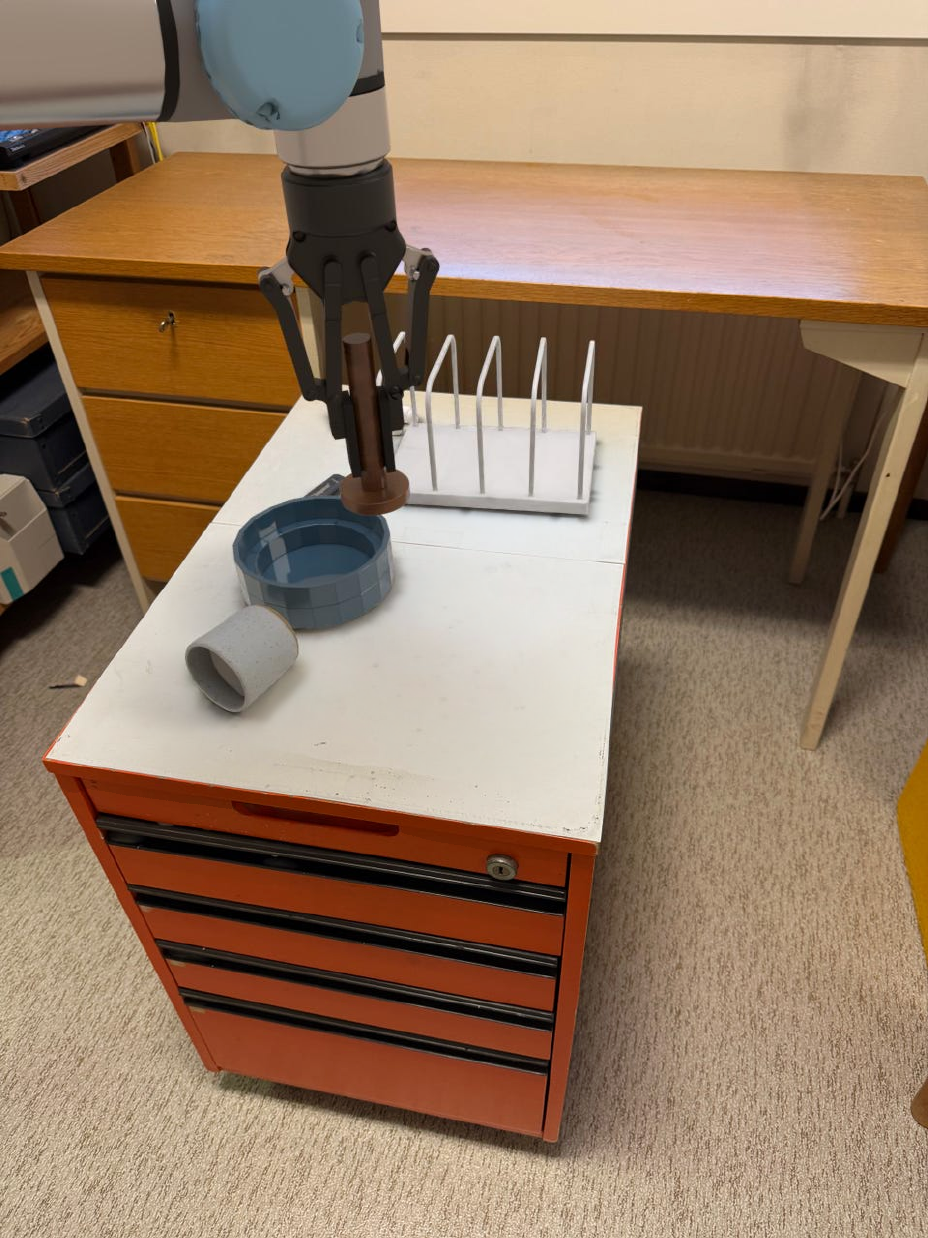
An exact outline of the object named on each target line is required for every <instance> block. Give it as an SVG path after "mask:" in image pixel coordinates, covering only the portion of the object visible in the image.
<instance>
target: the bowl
mask: <svg viewBox="0 0 928 1238" xmlns="http://www.w3.org/2000/svg"><path fill="white" fill-rule="evenodd" d="M391 537H392V536H391V531H390V528H389V524H388V522H387V519H386V517H385V516H383V514H382V515H373V516H370V515H361V514H356V513H354V512H351V511H349V510H348V509H346V508H345V507H344V505H343V504H342V502H341V496H340V495H335V496H309V497H304V496H303V497H298V498H292V499H288V500H285V501H283V502H280V503H277V504H273V505H271V506H269V507H267V508H265V509H263V510H262V511H261V512H259V513H257V514H255V515H254V516H252V517H250V519H248V521H247V522H245V523H244V525H243V526H241V528H240V529H239V530H237V534H236V536H235V538H234V540H233V543H232V545H231V547H232V556H233V557H232V558H233V563H234V566H235V571H236V574H237V578H238V582H239V586H240V589H241V593H242V597H243V601H244V602H245V603H246V604H247V607H248V606H251V605H256V604H258V605H264V606H267V607H269V608H271V609H273V610H275V611H276V612H278V613H279V614H280V615H281V616H282V617H283V618H284V619H285V620H286V621H287V622H288V623H289V625H290V626H291V628H292V629H312V630H313V629H315V630H316V629H322V628H327V627H332V626H338V625H341V624H344V623H347V622H349V621H352V620H354V619H356V618H359V617H361V616H364V615H365V614H367V613H368V612H369V611H371V610H372V609H373V608H375V607H376V606H377V605H379V604H380V603H381V602H382V601H383V600H384V598H385V597H386V596H387V594H388V593H389V591H390V590H391V588H392V586H393V582H394V576H395V565H394V564H395V563H394V555H393V547H392V538H391Z"/></svg>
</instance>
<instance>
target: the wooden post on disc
mask: <svg viewBox="0 0 928 1238" xmlns="http://www.w3.org/2000/svg"><path fill="white" fill-rule="evenodd" d="M372 339H373V338H372V336H371V335H370V334H369V333H365V332H353V333H349V334H347V335H345V336H344V337H342V348H343V354H344V356H343V357H344V362H345V363H344V364H345V372H346V379H347V385H348V392H349V395H350V399H351V401H352V405H353V412H354V420H355V427H356V435H357V443H358V451H359V459H360V466H361V474H362V477H357V478H353V477H352V473H351V472H350V473H349V474H348V475H345V478H344V479H343V480H342V482H341V484H340V488H339V489H340V492H339V496H341V502H342V504H343V505H344V507H345V508H346V509H348V510H349V511H351V512H354V513H356V514H361V515H370V516H373V515H382V516H383V515H388V514H390V513H393V512H395V511H398V510H400V509H401V508H403V507H404V506H405V505H406V504H408V503H407V501H408V500H409V497H410V484H409V479H408V478H407V476H406V475H405V474H404V473H403V472H401V471H399V470H397V469H396V472H389V473H387V471H386V468H385V461H384V451H383V442H382V433H381V424H380V414H379V405H378V396H377V395H378V394H377V385H376V379H377V375H376V366H375V358H374V347H373V340H372Z"/></svg>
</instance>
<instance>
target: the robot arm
mask: <svg viewBox="0 0 928 1238" xmlns="http://www.w3.org/2000/svg"><path fill="white" fill-rule="evenodd" d="M380 7H381V6H380V0H0V132H8V131H23V130H41V129H55V128H56V129H57V128H58V129H59V128H68V127H69V128H72V127H87V126H105V125H121V124H137V123H189V122H190V123H191V122H206V121H207V122H208V121H225V120H239V121H241V122H242V123H244V124H246V125H249V126H253V127H254V128H256V129H258V130H262V131H273V135H274V142H275V148H276V155H277V159H279V160H280V162H282V163H283V164H285V166H284V167H283V169H282V171H281V173H280V179H281V185H282V186H281V187H282V193H283V199H284V205H285V211H286V217H287V224H288V231H289V237H288V241H287V244H286V247H285V256H284V257H283V258H282V259H280V260H278V261H277V262H276V263H275V264H273V265H272V266H265V265H264V266H262V267H259V269H258V270H257V274H256V276H257V280H258V281H257V282H258V288H259V291H260V292H261V293H262V295H263V296H264V297H265V298H266V301H268V302H269V304H270V305H271V306H272V308H273V309H274V311H275V313H276V316H277V319H278V323H279V325H280V329H281V332H282V335H283V339H284V341H285V344H286V348H287V351H288V355H289V357H290V361H291V363H292V367H293V369H294V373H295V376H296V379H297V383H298V385H299V389H300V392H301V396H302V398H303V399H304V401H306V402H315V401H319V402H322V403H324V404H325V405H326V411H327V418H328V425H329V429H330V433H331V436H332V438H333V439H334V440H335V441H337V440H338V441H339V440H345V446H346V453H347V462H348V465H349V469H350V473H352V477H353V478H357V477H362V474H361V466H360V459H359V451H358V443H357V435H356V427H355V420H354V412H353V405H352V401H351V399H350V394H349V389H347V390H346V389H345V390H343V349H342V348H343V337H342V320H343V306H346V305H347V304H350V303H352V302H356V303H357V302H358V303H365V307H366V311H367V316H368V320H369V325H370V329H371V333H372V334H371V335H372V339H373V343H374V348H375V352H376V357H377V361H378V365H379V370H381V375H382V382H383V384H381V386H377V394H378V395H377V396H378V405H379V414H380V424H381V433H382V442H383V451H384V461H385V468H386V471H387V473H389V472H396V466H395V445H394V438H393V436H394V435H392V431H398V430H403V431H404V427H405V423H404V413H403V405H404V404H403V398H405V397H404V396H405V391H406V390H408V389H410V387H411V386H414V387H419V386H422V385H423V383H424V382H425V373H426V356H427V342H428V325H429V314H430V313H429V312H430V297H431V291H432V288H433V286H434V283H435V280H436V279H437V276H438V273H439V272H440V268H441V265H440V262H439V260H438V258H437V257H436V255H435V254H434V253H433V251H432V249H430V248H429V247H422V248H417V247H415V246H413V245H410V244H408V243H407V242H406V239H405V237H404V236H403V234H402V232H401V231H400V229H399V225H398V218H397V206H396V195H395V194H396V193H395V182H394V181H395V180H394V170H393V165H392V164H391V163H390V161H389V160H388V159H387V158H386V157H387V155H388V154H389V153H390V152H391V150H392V141H391V132H390V131H391V130H390V121H389V120H390V119H389V112H388V111H389V110H388V109H389V108H388V99H387V89H386V88H387V87H386V80H385V79H386V78H385V63H384V51H383V38H382V37H383V35H382V23H381V11H380ZM402 262H404V265H403V271H404V273H405V276H406V277H407V279H408V280H407V289H406V291H407V292H406V307H405V308H406V310H405V327H404V328H405V329H404V332H405V342H404V348H403V349H404V350H403V365H402V366H398V362H397V357H396V353H395V351H394V347H393V344H394V342H393V338H392V334H391V328H390V324H389V323H390V322H389V319H388V311H387V305H386V302H385V296H384V292H385V291H386V289H387V288H388V285H389V284H390V282H391V280H392V278H393V277H394V275H395V273H396V272H397V270H398V268H399V266H400V265H401V263H402ZM294 274H295V275H297V276H298V277H299V278H300V280H302V282H303V283H304V284H305V285H306V286H307V287H308V288H309V289H310V290H311V291H312V292H313V293H314V294H315V295H316V296H317V297H318V299H319V303H320V315H321V316H320V317H321V320H320V321H321V351H322V352H321V353H322V354H321V355H322V378H319V377H315V375H314V371H313V368H312V365H311V362H310V358H309V356H308V352H307V349H306V345H305V342H304V338H303V335H302V333H301V329H300V325H299V322H298V319H297V315H296V312H295V309H294V306H293V302H292V300H291V295H292V294H293V293H294V283H293V280H292V278H293V276H294Z"/></svg>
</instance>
